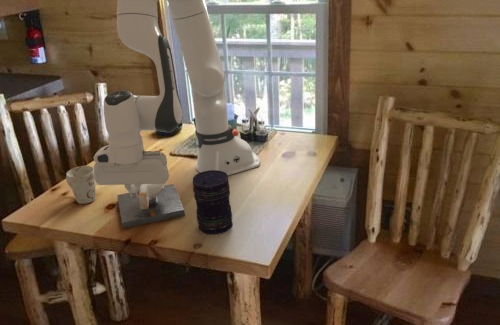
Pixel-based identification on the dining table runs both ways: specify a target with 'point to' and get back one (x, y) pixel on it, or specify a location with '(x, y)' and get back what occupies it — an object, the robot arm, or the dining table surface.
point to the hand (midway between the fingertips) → (135, 196)
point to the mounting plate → (150, 208)
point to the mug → (82, 183)
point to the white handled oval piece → (148, 193)
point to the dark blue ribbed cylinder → (212, 202)
